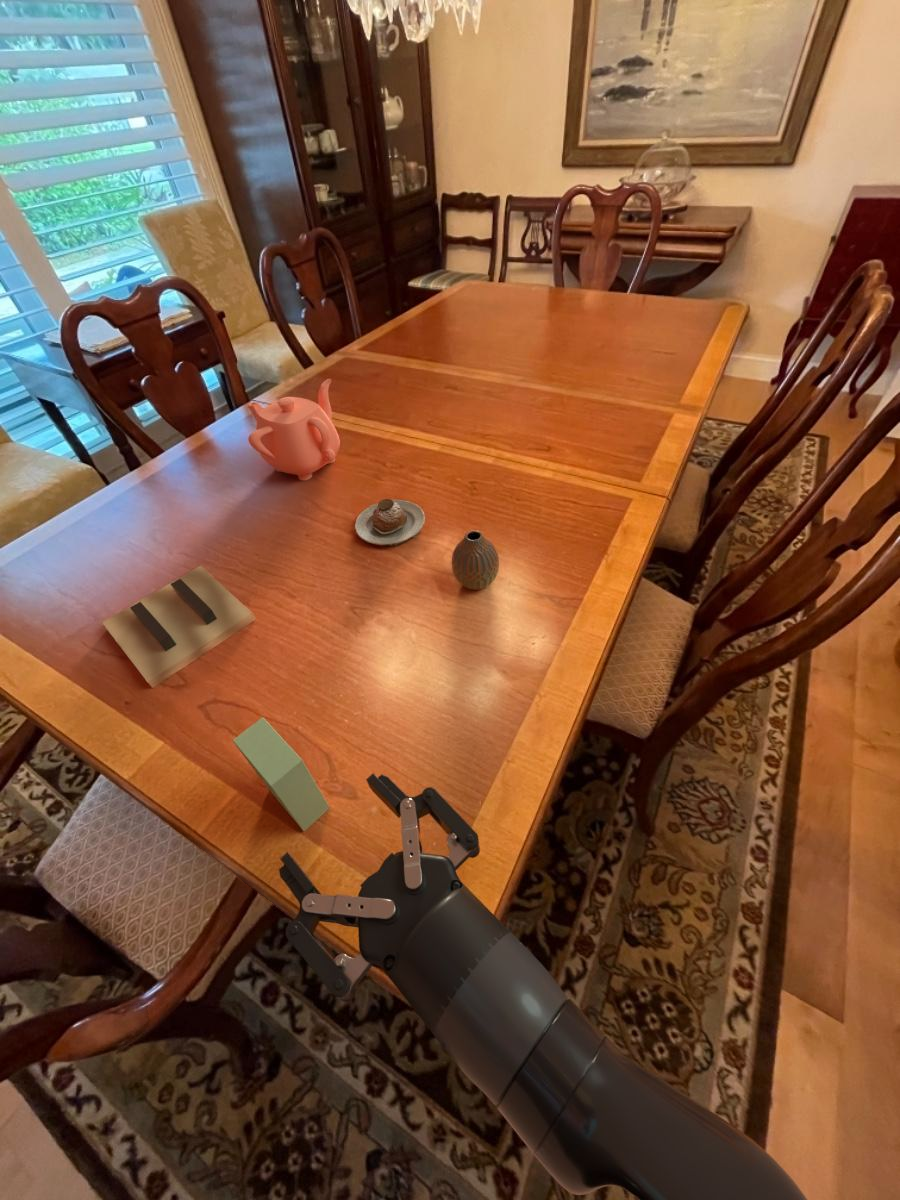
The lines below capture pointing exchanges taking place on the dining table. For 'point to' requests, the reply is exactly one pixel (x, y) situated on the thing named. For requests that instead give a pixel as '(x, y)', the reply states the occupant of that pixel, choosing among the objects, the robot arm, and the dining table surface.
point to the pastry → (390, 522)
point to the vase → (475, 561)
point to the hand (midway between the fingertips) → (330, 817)
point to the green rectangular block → (282, 773)
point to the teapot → (296, 434)
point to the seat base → (177, 624)
